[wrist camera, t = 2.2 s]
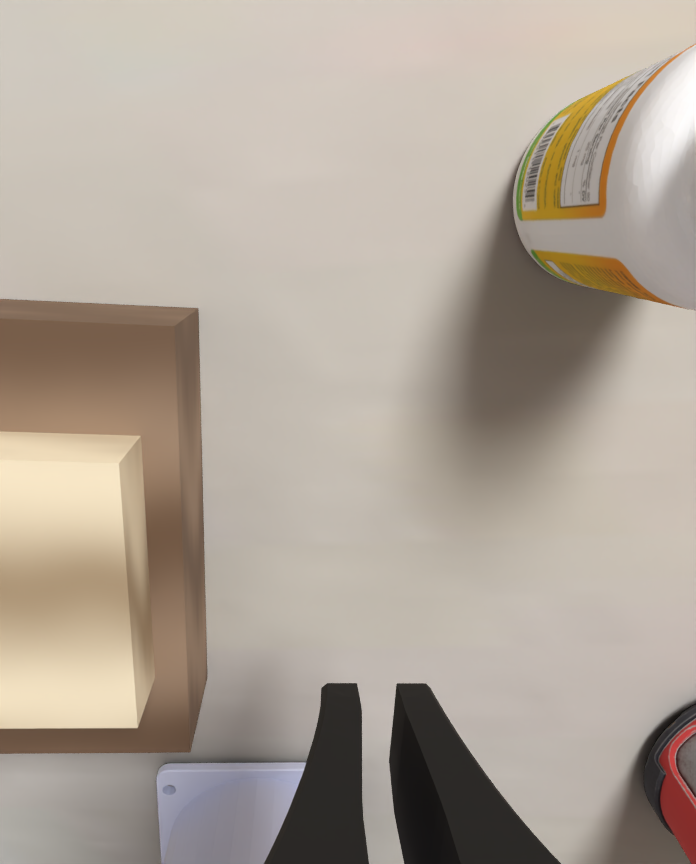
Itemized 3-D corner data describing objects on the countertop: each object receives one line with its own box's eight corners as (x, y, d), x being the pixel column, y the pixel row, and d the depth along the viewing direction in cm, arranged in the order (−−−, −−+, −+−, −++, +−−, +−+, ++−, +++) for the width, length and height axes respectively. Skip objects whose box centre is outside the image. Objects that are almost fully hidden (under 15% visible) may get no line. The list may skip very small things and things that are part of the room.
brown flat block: (207, 677, 23) (190, 752, 20) (-66, 676, 22) (-131, 754, 19) (198, 308, 19) (174, 325, 15) (-143, 292, 18) (-245, 307, 15)
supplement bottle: (701, 237, 19) (1068, 249, 10) (542, 313, 20) (750, 392, 10) (656, 59, 17) (1047, -129, 8) (482, 147, 18) (666, 63, 9)
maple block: (154, 677, 19) (137, 728, 17) (-47, 677, 18) (-87, 728, 17) (140, 436, 16) (118, 463, 14) (-93, 428, 16) (-148, 456, 14)
